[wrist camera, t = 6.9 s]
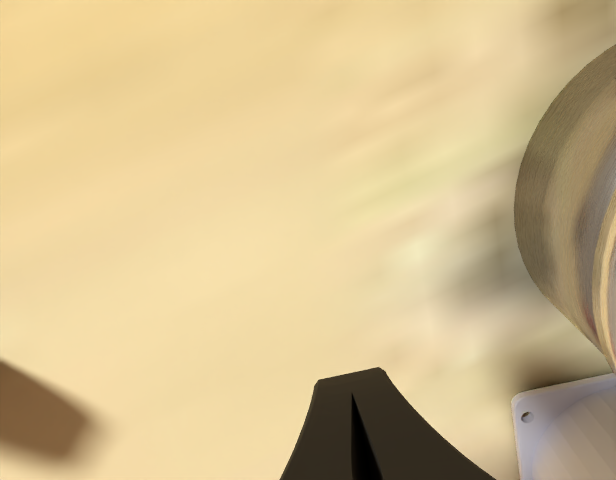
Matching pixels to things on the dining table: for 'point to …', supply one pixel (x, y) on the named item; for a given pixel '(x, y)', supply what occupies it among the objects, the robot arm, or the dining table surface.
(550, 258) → the cooker pot
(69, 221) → the dining table surface
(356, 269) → the dining table surface
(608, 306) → the cooker lid
